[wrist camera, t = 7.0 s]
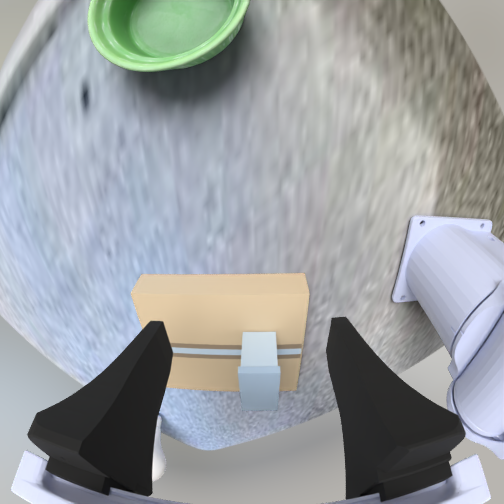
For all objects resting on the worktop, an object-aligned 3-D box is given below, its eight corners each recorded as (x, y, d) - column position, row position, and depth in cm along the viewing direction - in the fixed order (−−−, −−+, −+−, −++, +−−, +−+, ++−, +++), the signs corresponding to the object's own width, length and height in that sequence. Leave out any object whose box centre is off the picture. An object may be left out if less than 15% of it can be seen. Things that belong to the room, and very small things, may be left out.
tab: (277, 330, 22) (280, 372, 18) (275, 371, 24) (277, 410, 20) (240, 331, 22) (237, 373, 18) (243, 372, 24) (241, 410, 21)
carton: (304, 273, 22) (309, 293, 20) (294, 370, 28) (296, 390, 26) (141, 274, 23) (130, 293, 20) (170, 367, 28) (165, 387, 26)
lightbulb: (148, 396, 32) (128, 471, 22) (184, 417, 34) (172, 488, 24) (125, 406, 34) (106, 471, 24) (159, 425, 36) (145, 488, 26)
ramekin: (99, 58, 14) (63, 53, 11) (157, -45, 10) (136, -70, 7) (213, 96, 16) (199, 94, 12) (277, -14, 12) (282, -42, 8)
